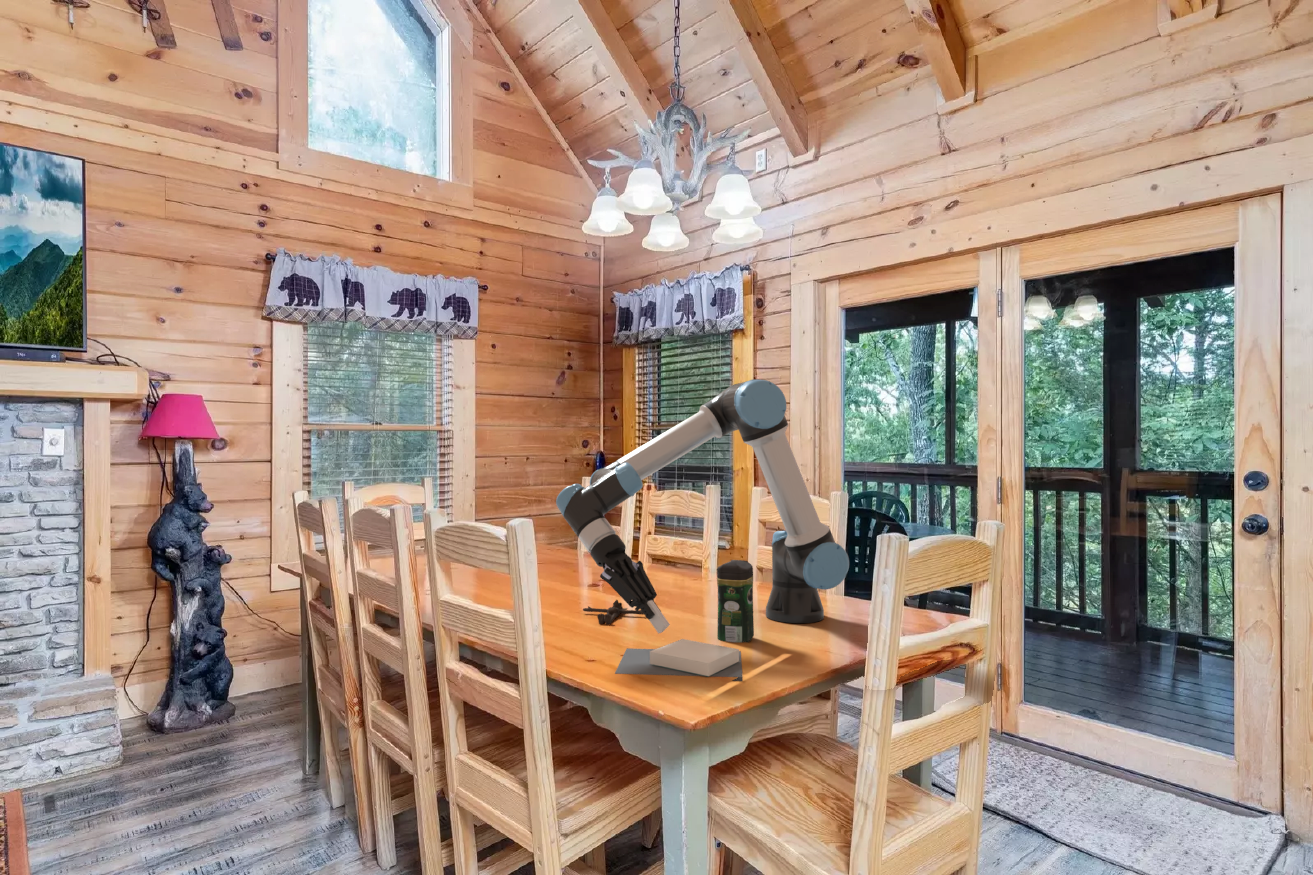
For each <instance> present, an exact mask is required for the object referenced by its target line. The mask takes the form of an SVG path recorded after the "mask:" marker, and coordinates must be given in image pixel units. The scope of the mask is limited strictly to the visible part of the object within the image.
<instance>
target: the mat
mask: <svg viewBox="0 0 1313 875" xmlns="http://www.w3.org/2000/svg"><path fill="white" fill-rule="evenodd" d="M655 649H656V648H630V647H628V648H626V649H625V652H624V653H623V655H622V657H621V659H620V662H619V663H618V666H617V668H616V670H615V671H614V674H615V675H642V676H643V675H648V676H649V675H650V676H651V675H652V676H679V677H680V676H683V677H686V676H687V677H703V676H702V675H697V674H692V673H688V672H683V671H678V670H673V669H669V668H664V667H659V666H655V665H653V664H650V651H652V650H655ZM710 677H714V678H715V677H719V678H720V677H722V678H734V679H732V680H731V682H743V677H744V676H743V665H742V652H741V650H739V662H737V663H735V664H733V665H731V666H729V667H727V668H725V669H723V670H721V671H719V672H717V673H715V674H713V675H711V676H710Z"/></svg>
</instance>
